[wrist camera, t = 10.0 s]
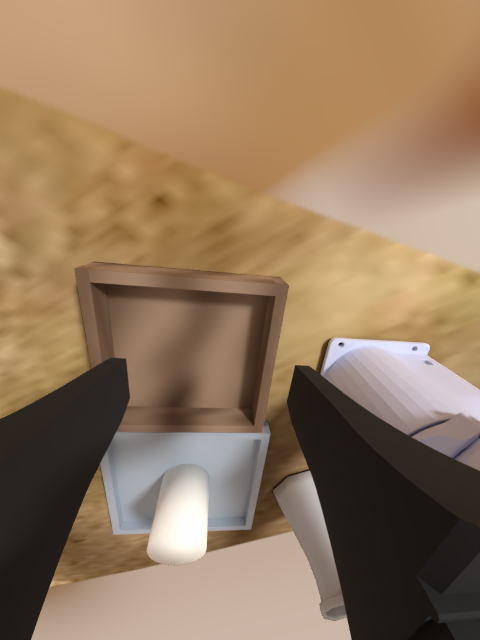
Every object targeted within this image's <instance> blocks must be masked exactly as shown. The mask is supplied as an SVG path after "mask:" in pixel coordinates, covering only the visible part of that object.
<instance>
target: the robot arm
mask: <svg viewBox="0 0 480 640" xmlns="http://www.w3.org/2000/svg"><path fill="white" fill-rule="evenodd" d="M341 342H342V344H341V345H339V343H341ZM413 347H414V348H413ZM412 348H413V349H412ZM429 349H430V346H429V345H428V344H426V343H421V342H403V341H385V340H367V339H349V338H332V339H331V340H330V341H329V343H328V347H327V350H326V354H325V358H324V361H323V365H322V369H321V372H320V374H319V373H318V372H316V371H315V370H314V369H312V368H311V367H309V366H299V365H295V369H294V373H293V378H292V382H291V387H290V391H289V395H288V400H287V403H288V408H289V413H290V417H291V421H292V424H293V427H294V430H295V433H296V435H297V438H298V441H299V443H300V446H301V449H302V451H303V454H304V457H305V459H306V462H307V465H308V467H309V470H310V472H311V475H312V478H313V481H314V484H315V487H316V491H317V494H318V498H319V502H320V505H321V509H322V513H323V516H324V520H325V524H326V528H327V532H328V536H329V540H330V544H331V548H332V552H333V556H334V561H335V565H336V569H337V574H338V578H339V582H340V586H341V591H342V596H343V600H344V605H345V610H346V615H347V619H348V624H349V628H350V634H351V639H352V640H480V390H479V389H477V388H476V387H474V386H473V385H471V384H470V383H468V382H467V381H465V380H464V379H462V378H461V377H459V376H458V375H456V374H455V373H453V372H452V371H450V370H449V369H447V368H446V367H444V366H442V365H441V364H439V363H438V362H436V361H435V360H433V359H432V358H430V357H429V356H427V354H428V351H429ZM129 400H130V392H129V382H128V372H127V362H126V358H109V359H107V360H105V361H104V362H102V363H100V364H99V365H97V366H95V367H94V368H92V369H90V370H89V371H87V372H85V373H84V374H82V375H81V376H79V377H77V378H76V379H74V380H72V381H71V382H69V383H67V384H66V385H64V386H62V387H60V388H59V389H57V390H55V391H53V392H52V393H50V394H48V395H46V396H44V397H43V398H41V399H39V400H37V401H35V402H34V403H32V404H30V405H28V406H26V407H24V408H22V409H20V410H18V411H16V412H14V413H12V414H10V415H8V416H6V417H4V418H2V419H0V640H31V638H32V635H33V632H34V629H35V626H36V623H37V620H38V617H39V615H40V611H41V609H42V606H43V603H44V601H45V598H46V595H47V592H48V589H49V587H50V584H51V581H52V578H53V576H54V573H55V570H56V567H57V565H58V562H59V559H60V557H61V554H62V552H63V549H64V546H65V544H66V541H67V539H68V536H69V533H70V531H71V528H72V526H73V523H74V521H75V518H76V516H77V513H78V511H79V508H80V506H81V503H82V501H83V499H84V496H85V494H86V491H87V489H88V487H89V485H90V483H91V481H92V478H93V476H94V474H95V473H96V471H97V469H98V467H99V465H100V463H101V461H102V459H103V457H104V455H105V453H106V451H107V449H108V447H109V445H110V443H111V441H112V440H113V438H114V436H115V434H116V432H117V430H118V428H119V426H120V424H121V422H122V419H123V417H124V414H125V411H126V408H127V405H128V403H129Z"/></svg>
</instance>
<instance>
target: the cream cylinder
mask: <svg viewBox="0 0 480 640" xmlns="http://www.w3.org/2000/svg"><path fill="white" fill-rule="evenodd" d="M208 501H209V474H208V472H207V471H206V470H205V469H204V468H202V467H200V466H198V465H194V464H179V465H176V466H173V467H171V468H170V469H168V470H167V471H166V472H165V474H164V475H163V479H162V484H161V488H160V493H159V497H158V502H157V506H156V511H155V515H154V520H153V524H152V529H151V533H150V538H149V542H148V547H147V554H148V556H149V557H150V558H151V559H152V560H154V561H155V562H158V563H161V564H165V565H184V564H188V563H192V562H194V561H196V560H198V559H200V558H201V557H202V556H203V555H204V554H205V552H206V548H207V525H208Z"/></svg>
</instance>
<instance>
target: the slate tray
mask: <svg viewBox="0 0 480 640" xmlns="http://www.w3.org/2000/svg"><path fill="white" fill-rule="evenodd" d="M270 434H271V433H270V429H269V424H268V421H264V424H263V429H262V433H209V432H116V434H115V436H114V438H113V440H112V441H111V443H110V445H109V447H108V449H107V451H106V453H105V455H104V457H103V459H102V461H101V463H100V464H101V470H102V475H103V480H104V486H105V491H106V497H107V502H108V507H109V513H110V518H111V523H112V529H113V534H114V535H118V534H144V533H151V529H152V524H153V520H154V515H155V511H156V506H157V502H158V497H159V493H160V488H161V484H162V479H163V475H164V474H165V472H166V471H167V470H168V469H170V468H171V467H173V466H176V465H179V464H194V465H198V466H200V467H202V468H204V469H205V470H206V471H207V472H208V474H209V501H208V525H207V531H223V530H249V529H251V528H252V523H253V518H254V513H255V508H256V503H257V498H258V493H259V488H260V483H261V478H262V474H263V469H264V464H265V459H266V454H267V449H268V444H269V439H270Z"/></svg>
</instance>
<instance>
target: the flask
mask: <svg viewBox="0 0 480 640" xmlns="http://www.w3.org/2000/svg"><path fill="white" fill-rule="evenodd" d="M273 493H274V495H275V497H276V499H277V502H278V504H279V506H280V508H281V510H282V512H283V514H284V515H285V517H286V519H287V521H288V523H289V524H290V526H291V528H292V530H293V532H294V533H295V535H296V537H297V539H298V541H299V543H300V545H301V547H302V549H303V551H304V553H305V555H306V557H307V559H308V561H309V564H310V566H311V569H312V571H313V574H314V576H315V579H316V583H317V586H318V590H319V593H320V598H321V603H320V610H321V614H322V616H323V618H324V619H328V620H332V621H336V620H340V619H344V618H347V615H346V610H345V605H344V600H343V596H342V591H341V586H340V582H339V578H338V574H337V569H336V565H335V561H334V556H333V552H332V548H331V544H330V540H329V536H328V532H327V528H326V524H325V520H324V516H323V513H322V509H321V505H320V502H319V498H318V494H317V491H316V487H315V484H314V481H313V478H312V475H311V472H310V471H306V472H303V473H299V474H296V475H292V476H289V477H287V478H286V479H285V480H284V481H283V482H282V483H281V484H279V485H278V486H277V487H276V488H275V489H274V490H273Z"/></svg>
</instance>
